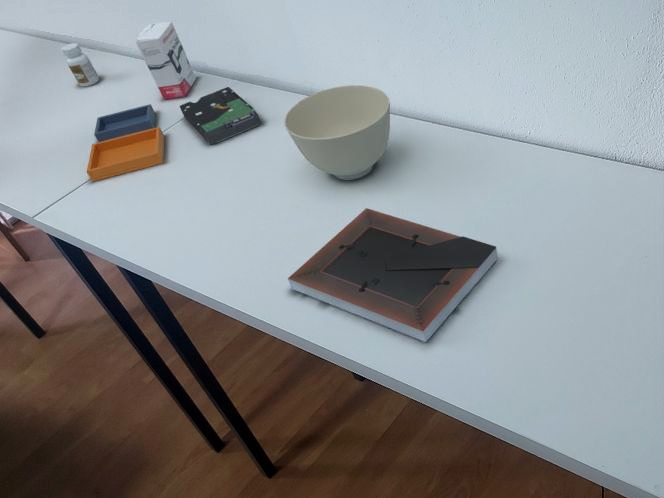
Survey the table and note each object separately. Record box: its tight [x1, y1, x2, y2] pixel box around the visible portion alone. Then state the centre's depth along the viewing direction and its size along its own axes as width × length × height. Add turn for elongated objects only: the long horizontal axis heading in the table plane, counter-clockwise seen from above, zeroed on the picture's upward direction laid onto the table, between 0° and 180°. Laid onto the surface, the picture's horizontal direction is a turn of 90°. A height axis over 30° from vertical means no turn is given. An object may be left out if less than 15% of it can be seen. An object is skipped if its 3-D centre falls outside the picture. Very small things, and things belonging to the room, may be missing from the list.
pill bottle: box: [61, 42, 100, 87], centre depth 138 cm, size 4×4×8 cm
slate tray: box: [93, 103, 156, 143], centre depth 122 cm, size 10×7×2 cm
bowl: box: [283, 84, 391, 181], centre depth 99 cm, size 16×16×10 cm
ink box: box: [135, 21, 197, 100], centre depth 128 cm, size 8×5×12 cm, turn 1°
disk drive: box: [179, 86, 262, 145], centre depth 119 cm, size 10×3×15 cm
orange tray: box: [86, 126, 165, 182], centre depth 114 cm, size 12×10×2 cm
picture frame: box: [287, 207, 499, 343], centre depth 82 cm, size 16×2×22 cm
